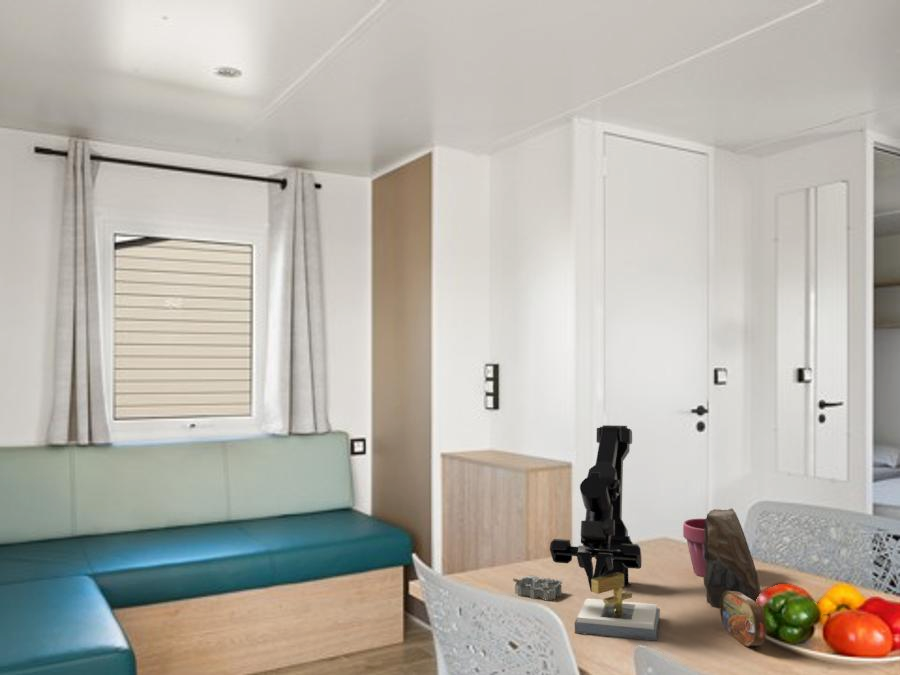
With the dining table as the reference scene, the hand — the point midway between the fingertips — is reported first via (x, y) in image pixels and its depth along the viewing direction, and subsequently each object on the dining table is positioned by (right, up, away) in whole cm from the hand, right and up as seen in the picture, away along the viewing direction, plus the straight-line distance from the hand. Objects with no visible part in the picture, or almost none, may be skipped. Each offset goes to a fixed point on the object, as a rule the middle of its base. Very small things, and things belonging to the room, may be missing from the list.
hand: (592, 590), depth 158 cm
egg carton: (-8, -9, +25) cm, 27 cm away
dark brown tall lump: (+35, -8, +17) cm, 40 cm away
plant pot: (+38, -9, +40) cm, 56 cm away
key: (+5, -6, +1) cm, 7 cm away
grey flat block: (+6, -8, +2) cm, 10 cm away
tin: (+29, -8, -6) cm, 30 cm away
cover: (+6, -6, +2) cm, 9 cm away
